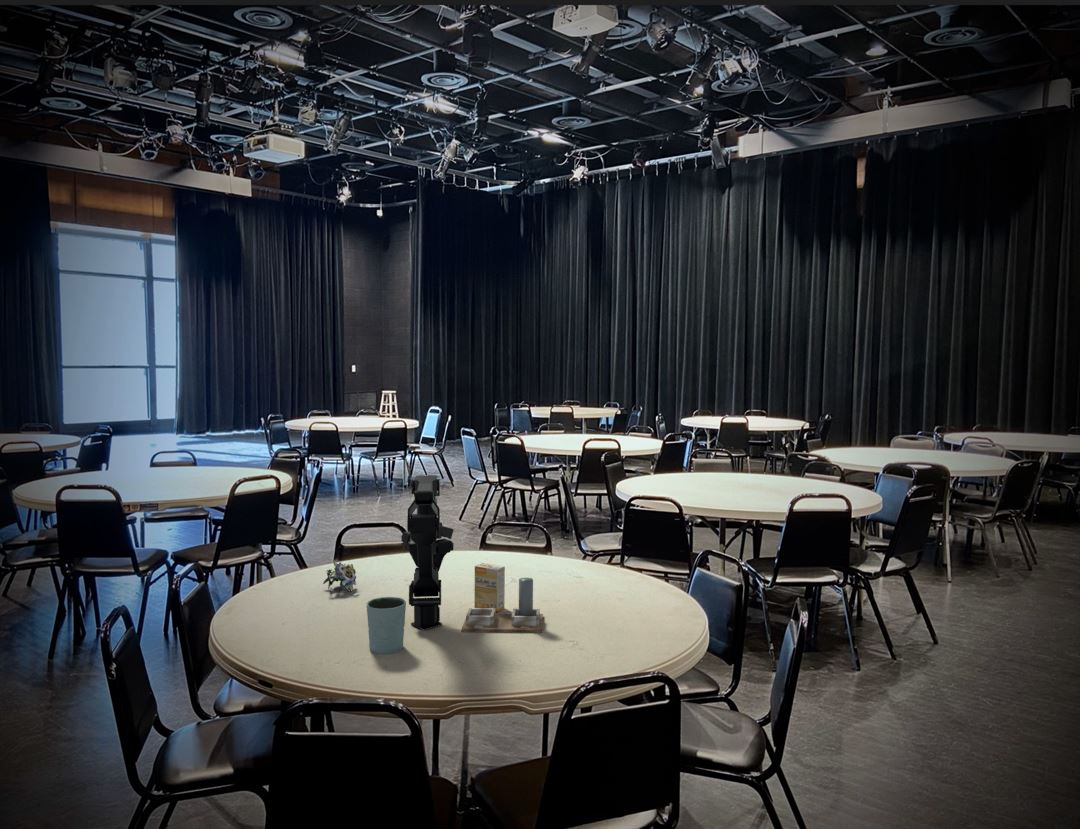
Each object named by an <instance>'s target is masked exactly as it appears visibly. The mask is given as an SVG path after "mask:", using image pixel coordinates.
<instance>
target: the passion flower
mask: <svg viewBox="0 0 1080 829" xmlns="http://www.w3.org/2000/svg"><path fill="white" fill-rule="evenodd" d="M332 563H333V566H334V568H333V569H334V570H333V569H331V568H329V569H328V570H326V575H327V577H326V578H325V580H323V585H324V584H326V583H328V584H327V588H328V589H330V587H331V586H333V584H334V582H336V583H337V582H339V586H340V587H341V588H343V589H344V590H345V591H346V592H348V591H349V590H350V591H349V592H351V590H353V591H354V587H353V586H357V584H358V583H357V581H356V579H357V578H358V577H357V575H356V574H357V572H356V569H355V568H354V564H353V563H350V564H349V563H347V564H346V563H342V562H341V561H340V562H336V560H333V561H332ZM328 589H327V590H328Z"/></svg>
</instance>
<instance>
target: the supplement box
mask: <svg viewBox="0 0 1080 829" xmlns="http://www.w3.org/2000/svg"><path fill="white" fill-rule="evenodd" d="M505 573H506V568H505V566H504V565H496V564H491V563H490V564H489V563H484V562H481V563H478V564H476V565H474V598H473V599H474V602H473V603H474V605H473V606H474V607H473V608H496V613H498V612H500V611H501V610H504V609H505V599H506V598H505V594H506V593H505V590H506V588H505V587H506V586H505V581H506V580H505V578H506V577H505V576H506V574H505Z"/></svg>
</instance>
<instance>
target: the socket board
mask: <svg viewBox="0 0 1080 829" xmlns="http://www.w3.org/2000/svg"><path fill="white" fill-rule="evenodd" d="M540 609H541V608H533V616H519V608H513V609H512V612H511V613H497V612H496V608H474V607H469V608H468V611H467V612H466V615H465V619H464V622H463V625H462V627H461V632H462V633H464V632H465V633H538V634H540V633H541V634H542V631H543V620H544V614H543V613H541V610H540Z"/></svg>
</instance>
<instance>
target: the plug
mask: <svg viewBox="0 0 1080 829" xmlns="http://www.w3.org/2000/svg"><path fill="white" fill-rule="evenodd" d="M518 609H519V616H533V609H534V578H532V577H519V578H518Z"/></svg>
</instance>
